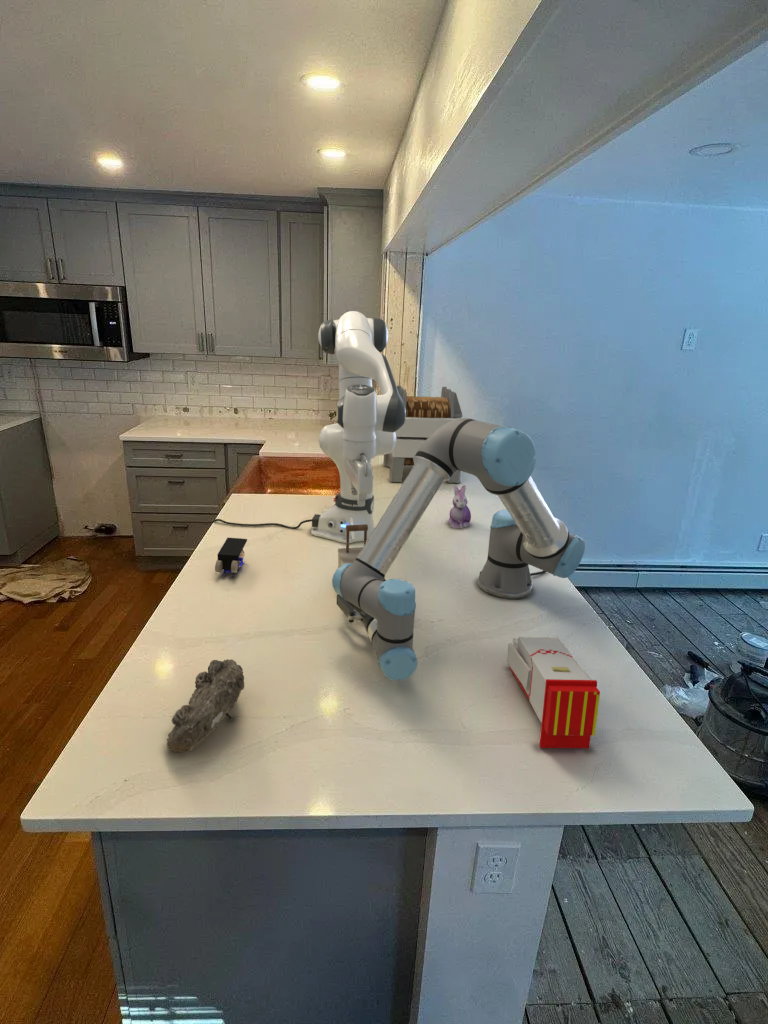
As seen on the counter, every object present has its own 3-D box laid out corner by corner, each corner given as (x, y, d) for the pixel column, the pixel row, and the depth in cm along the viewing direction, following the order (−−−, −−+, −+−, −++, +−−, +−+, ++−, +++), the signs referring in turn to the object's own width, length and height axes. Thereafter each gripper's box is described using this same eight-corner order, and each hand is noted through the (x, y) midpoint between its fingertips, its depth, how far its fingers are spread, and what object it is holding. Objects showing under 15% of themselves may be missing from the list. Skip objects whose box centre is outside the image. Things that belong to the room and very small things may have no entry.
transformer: (382, 463, 289) (386, 382, 275) (445, 464, 293) (451, 384, 279) (390, 482, 257) (394, 392, 243) (460, 483, 261) (468, 394, 247)
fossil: (192, 660, 117) (244, 628, 112) (224, 691, 120) (276, 661, 115) (142, 746, 98) (202, 712, 93) (182, 779, 101) (242, 748, 96)
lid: (337, 551, 159) (338, 521, 156) (370, 549, 161) (371, 520, 158) (348, 579, 143) (349, 547, 140) (384, 577, 145) (386, 545, 142)
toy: (554, 620, 129) (609, 687, 99) (549, 674, 131) (601, 755, 102) (501, 619, 128) (541, 686, 99) (497, 673, 131) (534, 754, 102)
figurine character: (238, 584, 162) (249, 557, 175) (236, 562, 158) (247, 536, 172) (215, 584, 161) (227, 556, 175) (212, 561, 158) (225, 535, 171)
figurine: (456, 530, 205) (460, 491, 199) (441, 521, 213) (444, 483, 208) (477, 527, 209) (481, 488, 204) (461, 518, 217) (465, 480, 212)
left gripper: (379, 459, 138) (377, 512, 143) (363, 440, 157) (362, 488, 162) (354, 459, 137) (353, 513, 142) (340, 440, 156) (340, 488, 160)
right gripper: (334, 647, 126) (321, 598, 147) (428, 638, 131) (403, 592, 152) (335, 617, 124) (321, 572, 144) (431, 609, 129) (405, 567, 149)
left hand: (357, 499), depth 152 cm, fingers open, 8 cm apart
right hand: (363, 583), depth 148 cm, fingers closed on chest, 9 cm apart
